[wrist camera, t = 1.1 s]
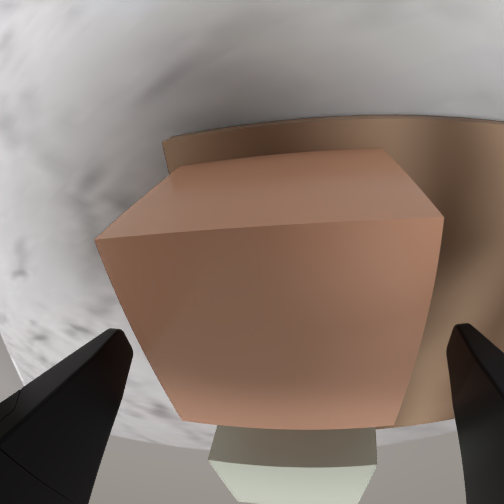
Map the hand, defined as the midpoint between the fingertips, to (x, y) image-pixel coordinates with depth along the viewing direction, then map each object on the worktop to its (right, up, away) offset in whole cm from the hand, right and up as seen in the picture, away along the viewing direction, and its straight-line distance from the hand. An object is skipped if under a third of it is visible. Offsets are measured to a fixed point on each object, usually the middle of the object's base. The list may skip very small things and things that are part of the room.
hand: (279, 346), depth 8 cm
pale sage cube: (+2, -7, +9) cm, 12 cm away
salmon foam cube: (+1, +2, +4) cm, 5 cm away
